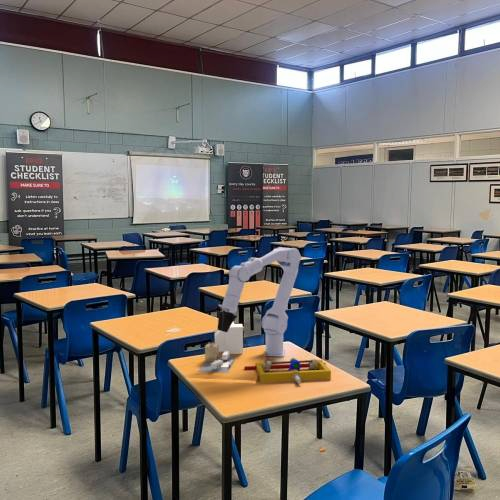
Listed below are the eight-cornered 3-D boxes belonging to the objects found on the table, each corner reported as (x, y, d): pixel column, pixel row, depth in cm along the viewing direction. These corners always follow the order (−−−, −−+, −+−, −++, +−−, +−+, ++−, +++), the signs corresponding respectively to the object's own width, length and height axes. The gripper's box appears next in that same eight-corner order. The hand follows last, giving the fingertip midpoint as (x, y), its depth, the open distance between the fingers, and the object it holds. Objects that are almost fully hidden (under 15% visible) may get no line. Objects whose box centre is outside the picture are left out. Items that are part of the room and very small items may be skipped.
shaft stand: (209, 358, 203) (209, 349, 202) (236, 359, 201) (236, 350, 201) (197, 374, 184) (197, 363, 184) (227, 375, 182) (227, 364, 182)
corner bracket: (243, 356, 206) (242, 326, 205) (214, 357, 205) (214, 327, 205) (241, 349, 217) (241, 321, 216) (214, 349, 216) (214, 321, 215)
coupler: (207, 358, 199) (207, 342, 199) (218, 359, 199) (218, 342, 198) (205, 362, 195) (204, 345, 194) (216, 362, 194) (216, 345, 194)
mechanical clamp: (243, 355, 187) (323, 351, 191) (244, 371, 188) (323, 368, 191) (249, 370, 169) (338, 366, 173) (250, 389, 170) (338, 384, 173)
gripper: (219, 293, 200) (208, 327, 197) (226, 292, 186) (215, 329, 183) (235, 298, 201) (225, 332, 199) (244, 298, 187) (233, 334, 185)
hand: (222, 331), depth 191 cm, fingers open, 7 cm apart
